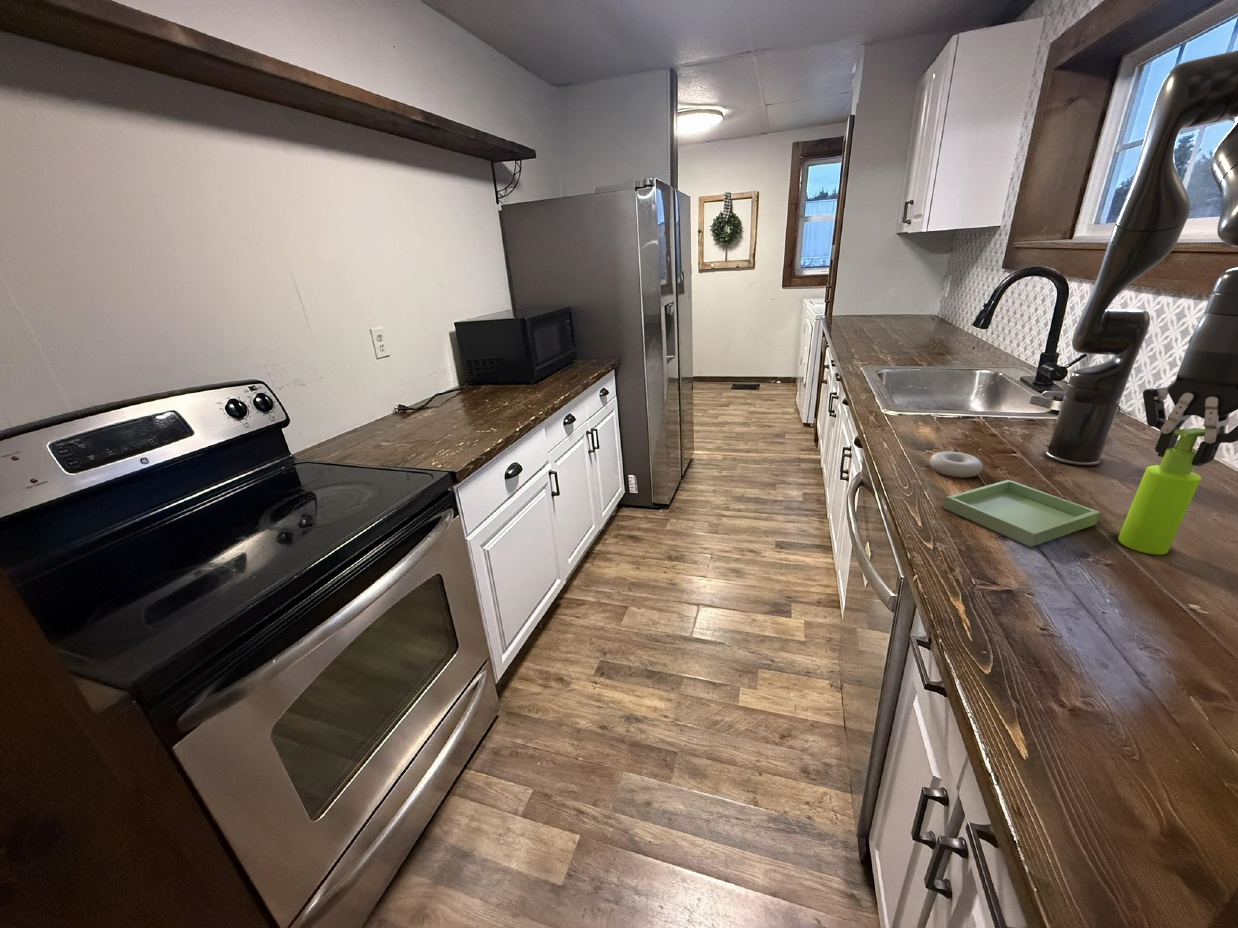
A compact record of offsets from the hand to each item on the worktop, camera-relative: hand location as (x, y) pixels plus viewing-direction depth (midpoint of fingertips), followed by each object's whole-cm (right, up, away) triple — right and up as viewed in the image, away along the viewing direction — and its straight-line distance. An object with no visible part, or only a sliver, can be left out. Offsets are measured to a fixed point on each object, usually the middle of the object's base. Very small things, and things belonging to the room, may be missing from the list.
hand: (1180, 459), depth 76 cm
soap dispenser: (+1, -14, +6) cm, 15 cm away
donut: (-11, -2, +36) cm, 37 cm away
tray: (-12, -10, +16) cm, 23 cm away
